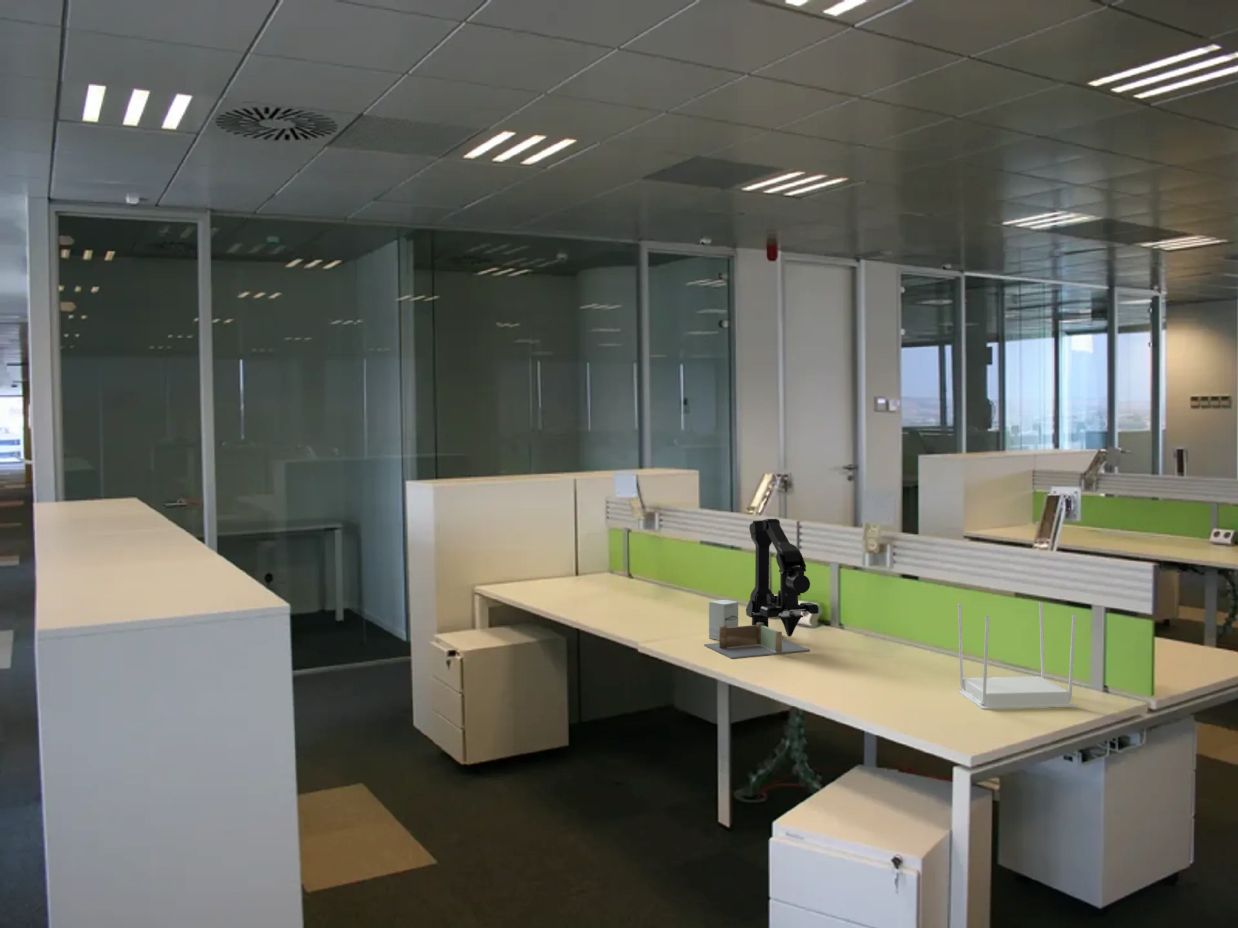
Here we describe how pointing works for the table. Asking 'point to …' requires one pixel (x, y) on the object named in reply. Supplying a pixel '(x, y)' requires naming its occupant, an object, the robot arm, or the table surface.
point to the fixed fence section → (740, 635)
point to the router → (1015, 681)
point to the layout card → (756, 650)
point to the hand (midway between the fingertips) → (789, 636)
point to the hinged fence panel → (771, 638)
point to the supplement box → (722, 616)
